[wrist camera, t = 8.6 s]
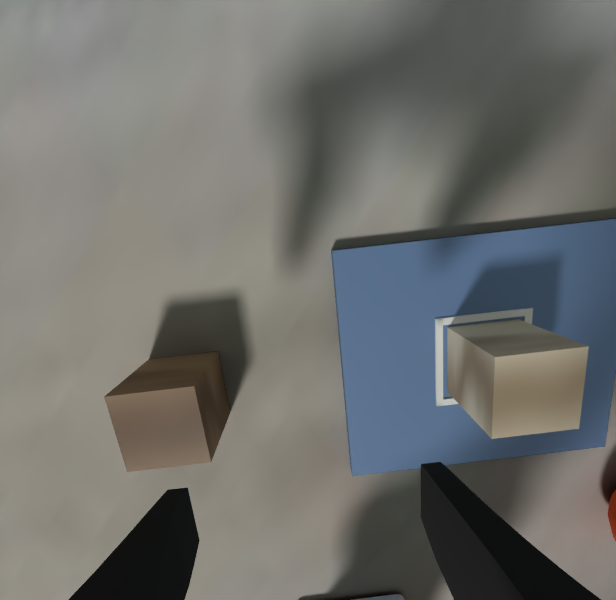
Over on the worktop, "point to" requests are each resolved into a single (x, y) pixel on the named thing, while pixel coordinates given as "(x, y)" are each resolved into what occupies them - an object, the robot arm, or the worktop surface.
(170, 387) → the walnut block
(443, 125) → the worktop surface
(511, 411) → the maple block
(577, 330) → the board
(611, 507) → the clementine
